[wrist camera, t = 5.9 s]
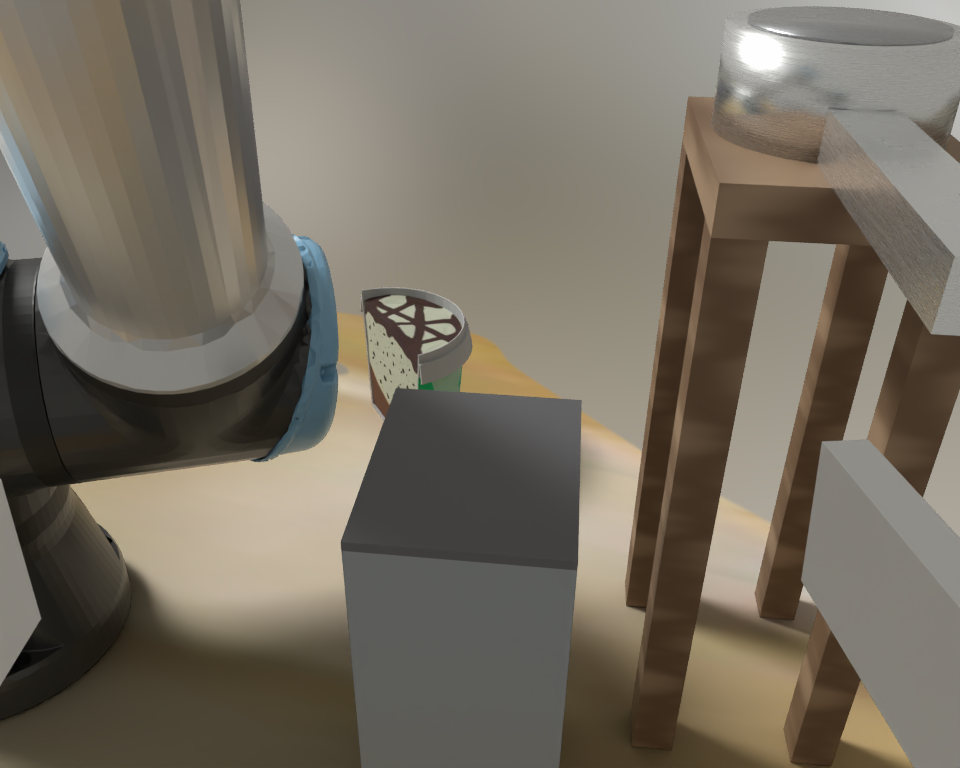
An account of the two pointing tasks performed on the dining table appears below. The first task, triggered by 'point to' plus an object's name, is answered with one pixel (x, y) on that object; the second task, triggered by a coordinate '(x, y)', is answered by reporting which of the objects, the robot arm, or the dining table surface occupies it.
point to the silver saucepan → (860, 128)
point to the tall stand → (713, 402)
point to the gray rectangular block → (464, 581)
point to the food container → (412, 342)
